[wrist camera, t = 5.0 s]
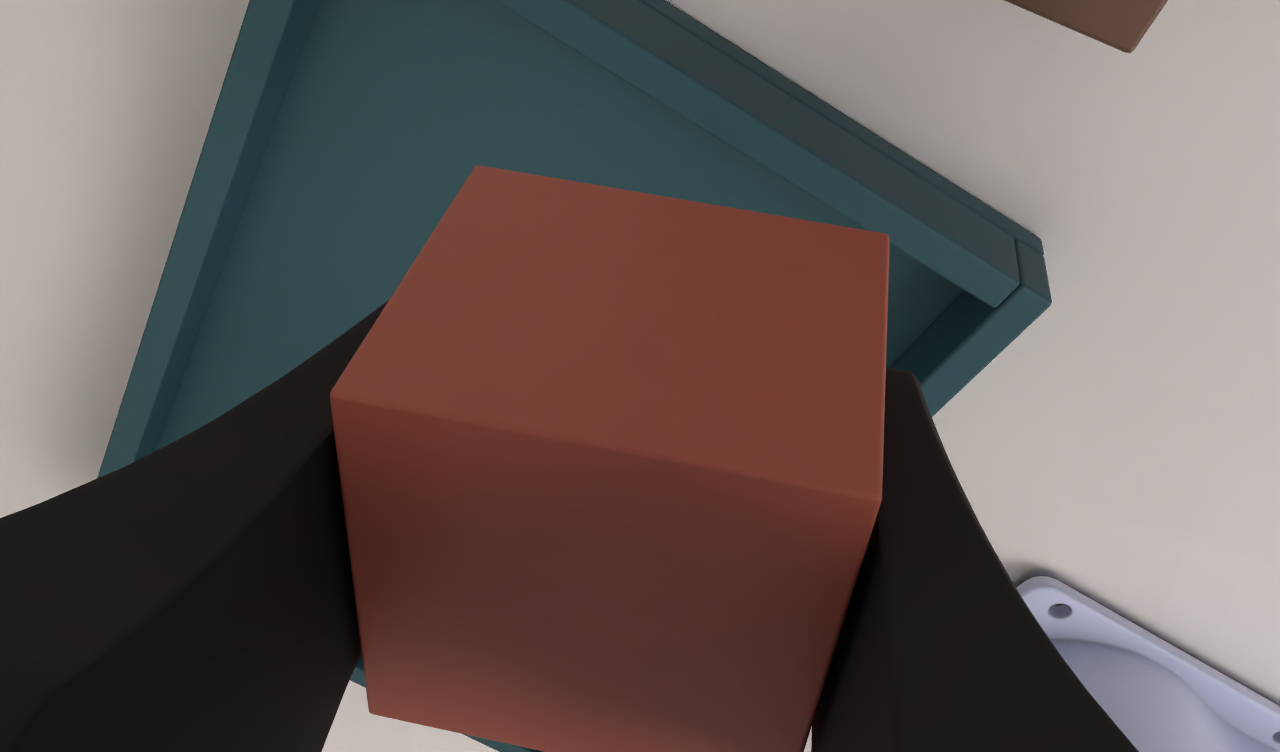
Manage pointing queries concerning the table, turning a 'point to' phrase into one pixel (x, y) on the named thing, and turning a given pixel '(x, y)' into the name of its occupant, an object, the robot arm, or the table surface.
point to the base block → (1100, 18)
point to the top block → (614, 468)
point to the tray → (530, 143)
